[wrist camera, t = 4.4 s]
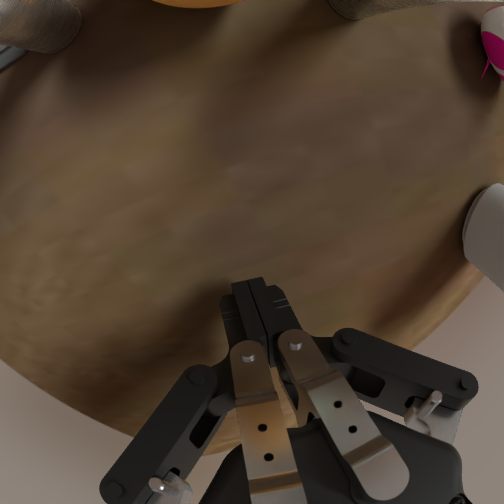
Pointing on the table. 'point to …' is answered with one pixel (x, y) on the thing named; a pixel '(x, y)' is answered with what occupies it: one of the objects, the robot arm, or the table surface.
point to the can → (486, 233)
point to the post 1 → (39, 24)
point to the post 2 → (381, 6)
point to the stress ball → (494, 38)
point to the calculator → (10, 55)
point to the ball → (197, 3)
